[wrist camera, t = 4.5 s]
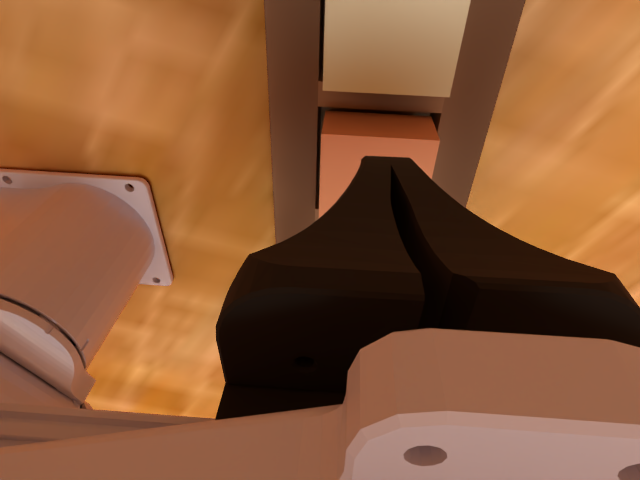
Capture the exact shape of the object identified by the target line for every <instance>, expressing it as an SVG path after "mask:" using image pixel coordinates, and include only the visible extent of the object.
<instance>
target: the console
mask: <svg viewBox="0 0 640 480" xmlns="http://www.w3.org/2000/svg"><path fill="white" fill-rule="evenodd" d="M524 4H525V0H471V2H470V6H469V11H468V15H467V20H466V24H465V29H464V34H463V38H462V43H461V47H460V52H459V56H458V61H457V66H456V70H455V75H454V79H453V84H452V88H451V93H450V97H434V96H415V95H396V94H377V93H358V92H339V91H323V61H324V28H325V0H264V9H265V30H266V50H267V71H268V92H269V113H270V133H271V154H272V175H273V196H274V217H275V237H276V244H278V243H280V242H282V241H284V240H286V239H288V238H290V237H292V236H294V235H296V234H297V233H299V232H301V231H303V230H304V229H306V228H307V227H309V226H310V225H311V224H313V223H314V222H315V221H316V220H318V219H319V190H320V158H321V132H322V127H323V121H324V116H325V111H343V112H361V113H379V114H398V115H416V116H431V117H432V120H433V123H434V125H435V128H436V131H437V134H438V136H439V139H440V143H439V148H438V152H437V157H436V162H435V166H434V171H433V175H432V180H433V181H434V182H435V183H436V184H437V185H438V186H439V187H440V188H442V189H443V190H444V191H445V192H446V193H447V194H448V195H450V196H451V197H452V198H453V199H455V200H456V201H457V202H458V203H460V204H461V205H462V206H464V207H465V208H466V204H467V201H468V197H469V194H470V190H471V187H472V183H473V180H474V176H475V173H476V170H477V166H478V163H479V159H480V156H481V152H482V149H483V145H484V142H485V138H486V135H487V132H488V128H489V125H490V121H491V118H492V114H493V111H494V107H495V104H496V100H497V97H498V93H499V90H500V87H501V83H502V80H503V76H504V73H505V69H506V66H507V62H508V59H509V55H510V52H511V49H512V45H513V42H514V38H515V35H516V31H517V28H518V24H519V21H520V17H521V14H522V10H523V7H524Z"/></svg>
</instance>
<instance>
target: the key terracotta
mask: <svg viewBox="0 0 640 480" xmlns="http://www.w3.org/2000/svg"><path fill="white" fill-rule="evenodd" d="M439 143H440V139H439V136H438V134H437V131H436V128H435V125H434V123H433V120H432V117H431V116H416V115H398V114H379V113H361V112H343V111H325V116H324V121H323V127H322V132H321V158H320V190H319V218H320V217H321V216H322V215H323V214H325V213H326V212H327V211H328V210H329V209H330V208H331V207H332V206H333V205H334V204H335V202H336V201H337V200H338V199H339V198H340V196H341V195H342V194H343V193H344V191H345V190H346V189H347V187H348V186H349V184H350V183H351V181H352V180H353V178H354V176H355V175H356V173H357V171H358V169H359V167H360V164H361V159H362V158H363V157H365V156H385V157H409V158H411V159H412V160H413V161H414V162H415V163H416V164H417V165H418V166H419V167H420V168H421V169H422V170H423V171H424V172H425V173H426V174H427V175H428V176H429V177H430V178H431V179H432V175H433V171H434V166H435V162H436V157H437V152H438V148H439Z"/></svg>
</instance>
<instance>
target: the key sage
mask: <svg viewBox="0 0 640 480" xmlns="http://www.w3.org/2000/svg"><path fill="white" fill-rule="evenodd" d="M470 2H471V0H325V28H324V61H323V91H339V92H358V93H377V94H396V95H415V96H434V97H450V93H451V88H452V84H453V79H454V75H455V70H456V66H457V61H458V56H459V52H460V47H461V43H462V38H463V34H464V29H465V24H466V20H467V15H468V11H469V6H470Z"/></svg>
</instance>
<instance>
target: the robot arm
mask: <svg viewBox="0 0 640 480" xmlns="http://www.w3.org/2000/svg"><path fill="white" fill-rule="evenodd" d="M8 177H9V178H10V179H9V178H8ZM128 184H131V185H132V186H133V187H134V188H131V187H130V186H129V185H128ZM157 278H159V279H157ZM172 281H173V275H172V271H171V267H170V263H169V259H168V256H167V252H166V248H165V244H164V240H163V236H162V232H161V228H160V225H159V221H158V217H157V213H156V209H155V205H154V201H153V197H152V193H151V190H150V186H149V184H148V182H147V181H146V180H145V179H143V178H139V177H126V176H110V175H94V174H78V173H62V172H46V171H31V170H15V169H0V480H640V307H639V306H638V305H637V303H636V302H635V301H634V299H633V298H632V297H631V295H630V294H629V292H628V291H627V290H626V288H625V287H624V286H623V284H622V283H621V281H620V280H619V279H618V278H617V276H616V275H615V274H613V273H610V272H607V271H603V270H600V269H597V268H594V267H591V266H587V265H584V264H581V263H578V262H575V261H571V260H568V259H565V258H563V257H560V256H557V255H555V254H552V253H550V252H547V251H545V250H542V249H540V248H537V247H535V246H533V245H530V244H528V243H526V242H524V241H521V240H519V239H517V238H515V237H513V236H511V235H510V234H508V233H506V232H504V231H502V230H500V229H498V228H496V227H494V226H493V225H491V224H489V223H488V222H486V221H484V220H483V219H481V218H480V217H478V216H477V215H475V214H473V213H472V212H470V211H469V210H468V209H466V208H465V207H464V206H462V205H461V204H460V203H458V202H457V201H456V200H455V199H453V198H452V197H451V196H450V195H448V194H447V193H446V192H445V191H444V190H443V189H442V188H440V187H439V186H438V185H437V184H436V183H435V182H434V181H433V180H432V179H431V178H430V177H429V176H428V175H427V174H426V173H425V172H424V171H423V170H422V169H421V168H420V167H419V166H418V165H417V164H416V163H415V162H414V161H413V160H412V159H411V158H409V157H385V156H365V157H363V158H362V159H361V164H360V167H359V169H358V171H357V173H356V175H355V176H354V178H353V180H352V181H351V183H350V184H349V186H348V187H347V189H346V190H345V191H344V193H343V194H342V195H341V196H340V198H339V199H338V200H337V201H336V202H335V204H334V205H333V206H332V207H331V208H330V209H329V210H328V211H327V212H326V213H325V214H323V215H322V216H321V217H320V218H319V219H318V220H316V221H315V222H314V223H313V224H311V225H310V226H309V227H307V228H306V229H304V230H303V231H301V232H299V233H297V234H296V235H294V236H292V237H290V238H288V239H286V240H284V241H282V242H280V243H278V244H275V245H273V246H270V247H268V248H265V249H263V250H260V251H257V252H255V253H252V254H249V255H248V257H247V258H246V260H245V261H244V263H243V265H242V266H241V268H240V270H239V271H238V273H237V275H236V277H235V279H234V281H233V282H232V284H231V286H230V288H229V291H228V293H227V295H226V298H225V301H224V303H223V306H222V309H221V312H220V315H219V318H218V321H217V324H216V341H217V346H218V350H219V355H220V360H221V364H222V369H223V373H224V378H225V387H224V391H223V394H222V398H221V401H220V405H219V408H218V412H217V415H216V419H211V418H198V417H185V416H171V415H158V414H145V413H132V412H118V411H105V410H93V409H92V407H91V406H90V405H89V404H88V403H86V402H85V399H86V397H87V395H88V394H89V392H90V390H91V388H92V387H93V385H94V383H95V381H96V380H95V379H94V378H93V377H92V376H90V375H89V374H88V373H87V372H86V370H87V368H88V366H89V365H90V363H91V361H92V360H93V358H94V356H95V355H96V353H97V352H98V350H99V348H100V347H101V345H102V343H103V342H104V340H105V338H106V337H107V335H108V333H109V332H110V330H111V328H112V327H113V325H114V324H115V322H116V320H117V319H118V317H119V315H120V314H121V312H122V310H123V309H124V307H125V305H126V304H127V302H128V300H129V299H130V297H131V296H132V294H133V292H134V291H135V289H136V287H137V286H138V284H147V285H161V286H169V285H171V283H172Z"/></svg>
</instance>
